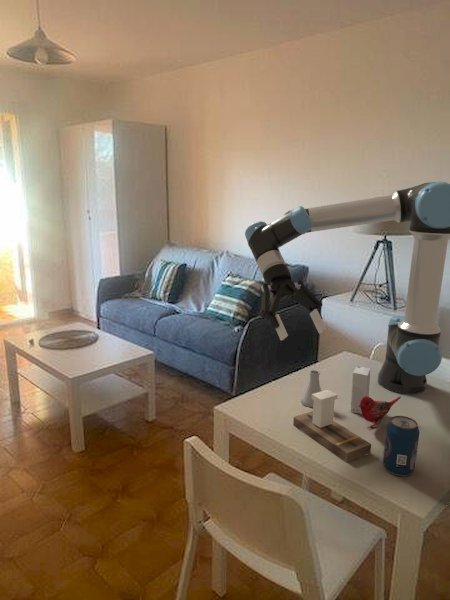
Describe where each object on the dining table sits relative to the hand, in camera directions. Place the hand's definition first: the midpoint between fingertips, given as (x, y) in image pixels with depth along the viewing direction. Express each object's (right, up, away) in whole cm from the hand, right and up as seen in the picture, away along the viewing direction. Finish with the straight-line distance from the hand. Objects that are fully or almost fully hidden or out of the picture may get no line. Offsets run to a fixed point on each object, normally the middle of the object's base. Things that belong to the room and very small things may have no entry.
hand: (304, 334), depth 123 cm
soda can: (+19, -30, -17) cm, 39 cm away
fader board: (+6, -26, -5) cm, 27 cm away
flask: (+5, -22, +15) cm, 27 cm away
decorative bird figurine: (+21, -25, +2) cm, 33 cm away
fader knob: (+4, -23, -3) cm, 24 cm away
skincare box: (+18, -23, +11) cm, 31 cm away
